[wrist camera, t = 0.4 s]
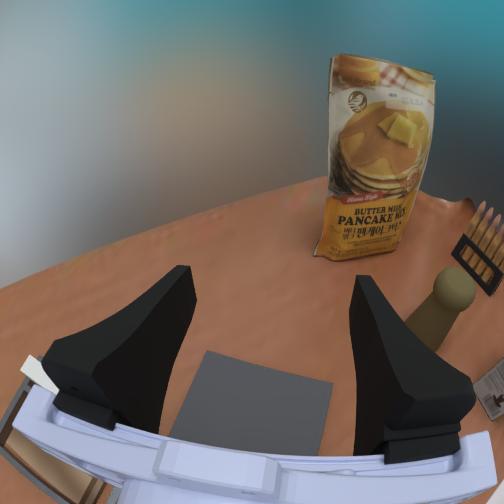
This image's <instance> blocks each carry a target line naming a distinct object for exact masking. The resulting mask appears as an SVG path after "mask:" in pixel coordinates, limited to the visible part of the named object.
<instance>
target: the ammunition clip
mask: <svg viewBox="0 0 504 504" xmlns="http://www.w3.org/2000/svg"><path fill="white" fill-rule="evenodd" d="M485 204H486V203H485V201H484V202H483V203H482V204H481V205H480V206H479V208H478V209H477V211H476V213H475V215H474V217H473V218H472V219H471V221H470V223H469V225H468V227H467V229H466V231H465V233H463V235H462V237H461V238H460V240H459V242H458V243H457V245H456V247H455V248H454V250H453V252H452V253H451V255H452V256H453V257H454V258H455V259H456V260H457V261H458V262H459V263H460V264H461V266H462V267H463V268H464V269H465V270H466V271H467V272H468V273H469V274H470V275H471V276H472V278H473V279H474V280H475V281H476V282H477V283H478V284H479V285H480V287H481V288H482V289H483V290H484V291H485V292H486V293H487V295H488V296H491V295H492V294H493V293H494V292H495V291H496V289H497V287H498V286H499V284H500V283H501V281H502V280H503V278H504V261H503V259H504V243H503V245H502V246H501V247H500V244H501V241H502V239H503V237H504V225H503V226H502V227H501V229H500V230H499V232H498V234H497V235H496V237H495V238H494V239H493V237H494V234H495V232H496V229H497V227H498V225H499V223H500V219H501V215H500V214H499V215H498V216H497V217H496V218H495V220H494V221H493V223H492V224H491V226H490V228H489V229H488V231H487V232H486V229H487V226H488V224H489V222H490V220H491V217H492V214H493V208H491V209H490V210H489V211H488V212H487V213H486V215H485V217H484V219H483V220H482V222H481V224H480V225H479V222H480V219H481V217H482V214H483V212H484V209H485ZM478 225H479V226H478ZM477 227H478V228H477ZM476 229H477V230H476ZM485 232H486V233H485ZM484 234H485V235H484ZM483 236H484V237H483ZM492 239H493V240H492ZM491 241H492V242H491ZM490 243H491V244H490ZM488 246H489V247H488ZM499 247H500V248H499ZM487 248H488V249H487ZM498 248H499V250H498ZM497 250H498V251H497ZM496 252H497V253H496ZM495 253H496V255H495ZM494 255H495V256H494ZM502 261H503V262H502ZM501 262H502V264H501ZM478 263H479V264H478ZM487 266H488V267H487ZM486 268H487V269H486ZM484 271H485V272H484ZM493 275H494V276H493ZM492 276H493V277H492ZM491 278H492V279H491ZM490 279H491V280H490Z"/></svg>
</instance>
